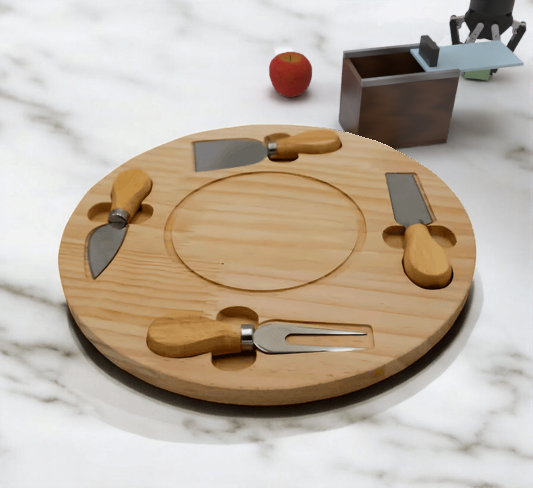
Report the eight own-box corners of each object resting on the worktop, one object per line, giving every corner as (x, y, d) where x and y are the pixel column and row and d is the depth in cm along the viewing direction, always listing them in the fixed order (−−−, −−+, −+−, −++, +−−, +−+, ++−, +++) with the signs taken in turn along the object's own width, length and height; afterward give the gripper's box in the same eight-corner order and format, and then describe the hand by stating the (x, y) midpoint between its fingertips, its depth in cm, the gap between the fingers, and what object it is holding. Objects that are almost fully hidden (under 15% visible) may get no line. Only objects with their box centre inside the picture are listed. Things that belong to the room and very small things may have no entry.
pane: (499, 42, 108) (504, 22, 106) (523, 65, 102) (529, 44, 100) (409, 52, 106) (412, 31, 104) (428, 75, 100) (432, 54, 98)
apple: (301, 107, 117) (302, 67, 112) (262, 98, 120) (261, 59, 115) (317, 88, 123) (319, 48, 117) (279, 80, 125) (279, 41, 120)
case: (423, 110, 116) (434, 41, 107) (446, 143, 108) (460, 70, 99) (338, 120, 114) (343, 50, 105) (355, 154, 106) (362, 81, 97)
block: (465, 67, 127) (469, 45, 124) (488, 69, 126) (493, 48, 123) (464, 77, 124) (468, 55, 121) (488, 80, 123) (493, 58, 120)
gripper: (452, -14, 112) (437, 77, 123) (540, -7, 109) (516, 86, 120) (455, -29, 117) (440, 60, 129) (539, -23, 114) (516, 67, 126)
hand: (477, 72), depth 125 cm, fingers closed on block, 4 cm apart
